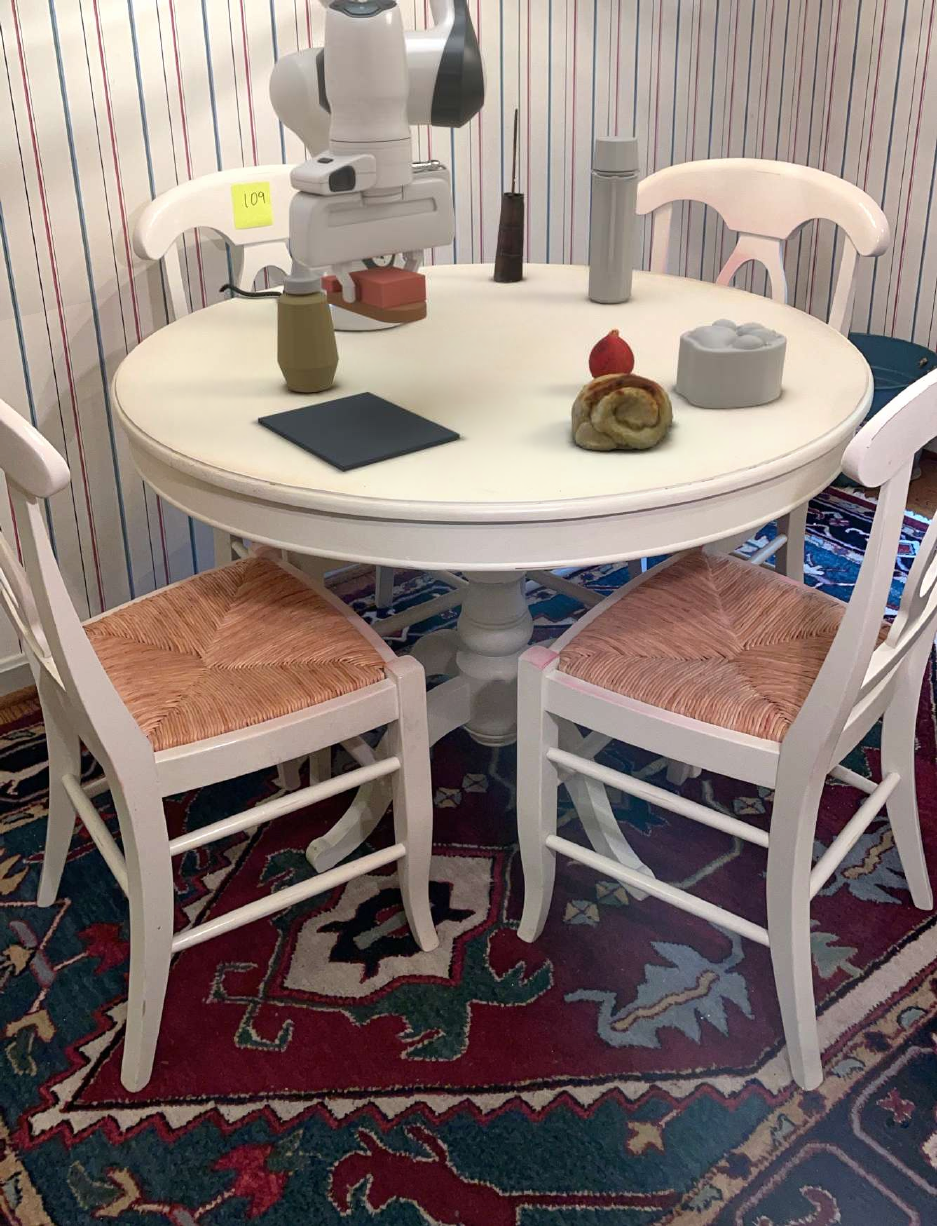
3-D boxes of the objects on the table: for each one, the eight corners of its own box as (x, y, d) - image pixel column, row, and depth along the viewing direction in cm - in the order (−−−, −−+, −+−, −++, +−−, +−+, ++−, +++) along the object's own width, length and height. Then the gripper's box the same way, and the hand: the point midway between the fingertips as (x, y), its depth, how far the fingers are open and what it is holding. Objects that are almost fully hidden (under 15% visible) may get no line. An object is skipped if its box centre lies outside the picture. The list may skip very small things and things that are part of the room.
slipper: (317, 300, 133) (314, 263, 131) (360, 292, 136) (357, 256, 134) (393, 326, 122) (391, 286, 120) (437, 316, 125) (436, 277, 123)
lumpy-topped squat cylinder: (668, 385, 147) (673, 319, 143) (759, 377, 149) (767, 312, 145) (699, 410, 138) (706, 341, 134) (796, 402, 140) (805, 334, 136)
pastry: (597, 461, 124) (600, 392, 120) (546, 426, 134) (548, 361, 130) (704, 441, 129) (710, 374, 125) (647, 409, 139) (651, 346, 135)
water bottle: (586, 293, 190) (593, 135, 178) (633, 294, 189) (642, 135, 177) (584, 307, 182) (590, 143, 170) (632, 308, 181) (642, 143, 169)
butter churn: (519, 289, 194) (521, 113, 180) (472, 283, 198) (470, 111, 184) (543, 278, 200) (547, 108, 187) (497, 272, 205) (497, 106, 191)
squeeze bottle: (350, 380, 150) (341, 243, 141) (324, 399, 144) (313, 256, 135) (296, 375, 153) (284, 239, 144) (268, 393, 146) (254, 252, 137)
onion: (603, 399, 142) (606, 337, 138) (579, 387, 147) (581, 326, 143) (640, 392, 144) (644, 331, 141) (615, 380, 149) (619, 320, 145)
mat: (258, 422, 136) (257, 418, 136) (368, 395, 145) (367, 391, 144) (343, 471, 122) (343, 466, 122) (459, 438, 131) (459, 433, 130)
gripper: (432, 155, 128) (436, 277, 135) (276, 173, 117) (288, 305, 124) (465, 160, 124) (468, 286, 130) (306, 179, 113) (318, 315, 120)
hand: (379, 295), depth 127 cm, fingers closed on slipper, 6 cm apart
